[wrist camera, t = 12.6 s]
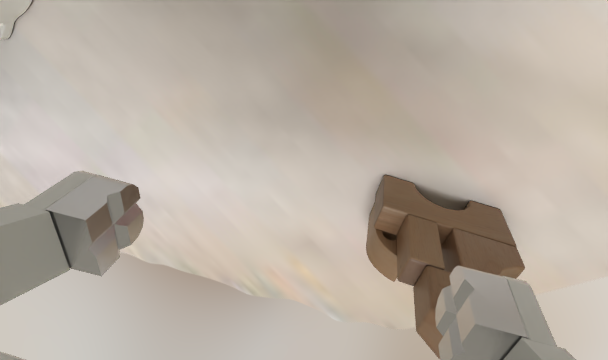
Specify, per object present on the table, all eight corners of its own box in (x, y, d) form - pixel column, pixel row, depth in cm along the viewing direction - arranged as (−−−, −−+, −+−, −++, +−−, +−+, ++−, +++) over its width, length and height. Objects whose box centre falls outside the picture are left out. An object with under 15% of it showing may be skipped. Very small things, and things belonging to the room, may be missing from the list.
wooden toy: (366, 216, 44) (342, 443, 23) (384, 173, 40) (374, 398, 19) (486, 253, 43) (573, 525, 22) (516, 213, 39) (654, 494, 18)
